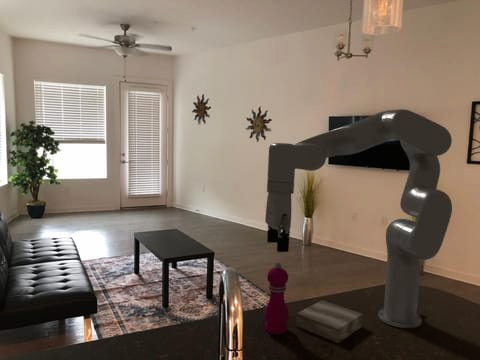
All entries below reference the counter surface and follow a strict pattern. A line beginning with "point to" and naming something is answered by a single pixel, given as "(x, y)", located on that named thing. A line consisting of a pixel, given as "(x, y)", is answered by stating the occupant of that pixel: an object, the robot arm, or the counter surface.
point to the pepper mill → (276, 301)
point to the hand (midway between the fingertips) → (277, 246)
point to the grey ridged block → (329, 320)
